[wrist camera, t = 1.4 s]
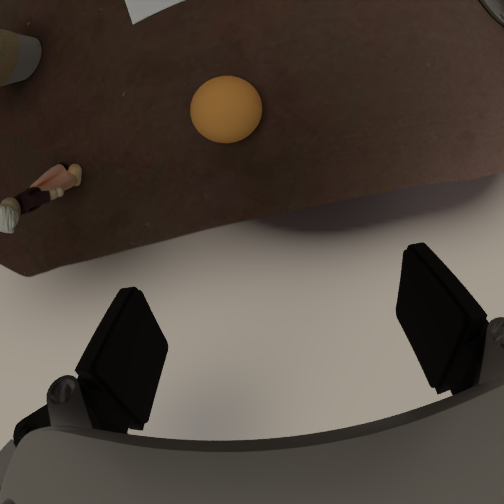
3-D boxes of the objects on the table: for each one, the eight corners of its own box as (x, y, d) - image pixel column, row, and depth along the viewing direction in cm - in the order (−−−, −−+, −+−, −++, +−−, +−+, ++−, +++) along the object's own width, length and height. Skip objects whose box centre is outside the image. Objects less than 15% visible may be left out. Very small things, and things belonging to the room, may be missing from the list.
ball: (250, 70, 22) (247, 61, 17) (270, 127, 25) (272, 134, 20) (190, 91, 23) (171, 90, 18) (211, 146, 26) (197, 159, 21)
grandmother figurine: (82, 151, 26) (4, 189, 15) (93, 181, 28) (21, 231, 17) (42, 173, 27) (-28, 216, 16) (52, 200, 29) (-13, 249, 18)
